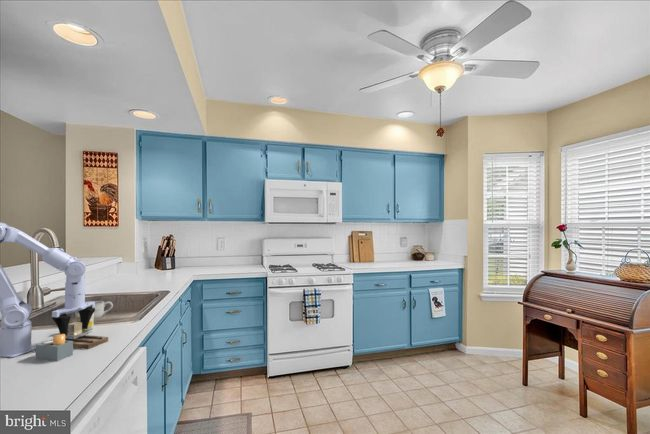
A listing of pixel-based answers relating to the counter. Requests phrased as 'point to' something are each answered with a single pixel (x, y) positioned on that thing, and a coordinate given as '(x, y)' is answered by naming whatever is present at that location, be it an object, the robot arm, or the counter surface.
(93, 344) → the rail track
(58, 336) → the button
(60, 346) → the gauge box
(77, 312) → the teacup
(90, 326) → the supplement bottle
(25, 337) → the robot arm
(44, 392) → the counter surface
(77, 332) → the carriage
